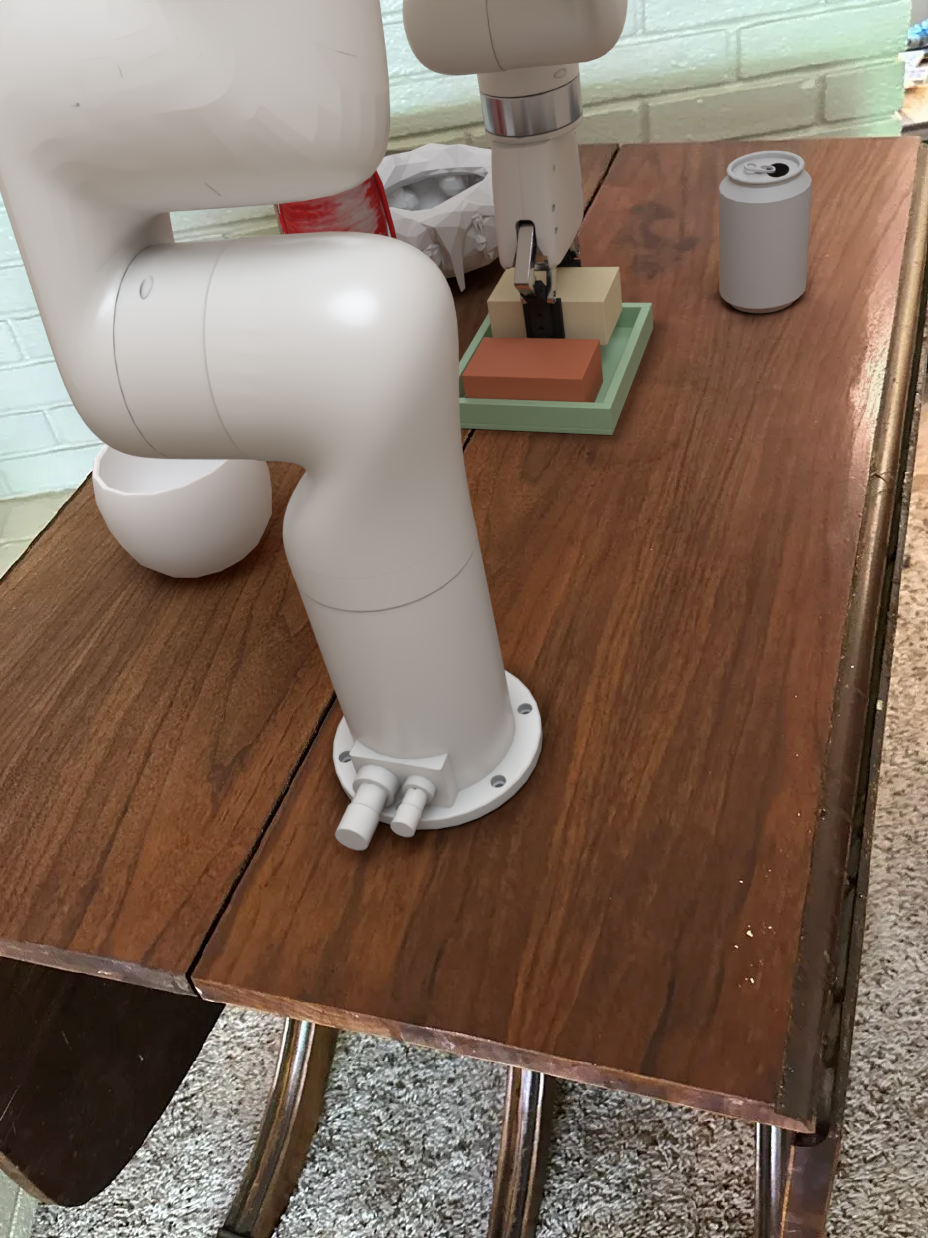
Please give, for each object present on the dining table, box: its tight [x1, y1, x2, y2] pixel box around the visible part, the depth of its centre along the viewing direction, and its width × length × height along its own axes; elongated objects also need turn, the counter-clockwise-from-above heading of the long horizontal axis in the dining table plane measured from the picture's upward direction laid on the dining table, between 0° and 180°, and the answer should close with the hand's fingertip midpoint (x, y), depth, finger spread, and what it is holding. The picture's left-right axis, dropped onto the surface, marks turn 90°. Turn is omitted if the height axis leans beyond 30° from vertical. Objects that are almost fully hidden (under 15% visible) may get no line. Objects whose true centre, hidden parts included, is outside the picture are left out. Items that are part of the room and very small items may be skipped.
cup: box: [91, 443, 273, 579], centre depth 80 cm, size 12×12×10 cm
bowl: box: [376, 142, 499, 293], centre depth 109 cm, size 21×20×10 cm
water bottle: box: [272, 170, 397, 239], centre depth 86 cm, size 12×8×25 cm, turn 77°
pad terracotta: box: [462, 337, 603, 403], centre depth 89 cm, size 6×10×4 cm, turn 72°
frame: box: [459, 302, 654, 436], centre depth 93 cm, size 17×15×2 cm
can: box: [718, 150, 813, 314], centre depth 93 cm, size 8×8×12 cm
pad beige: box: [486, 266, 623, 345], centre depth 92 cm, size 6×10×4 cm, turn 72°
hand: (556, 320), depth 93 cm, fingers closed on pad beige, 5 cm apart
